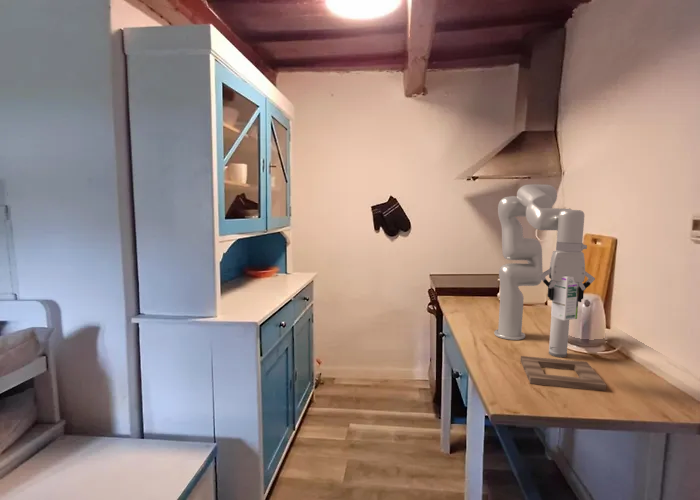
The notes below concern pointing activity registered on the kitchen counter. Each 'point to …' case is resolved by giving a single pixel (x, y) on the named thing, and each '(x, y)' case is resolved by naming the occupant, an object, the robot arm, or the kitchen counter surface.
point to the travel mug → (558, 337)
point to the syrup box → (565, 299)
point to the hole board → (583, 370)
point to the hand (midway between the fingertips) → (564, 300)
